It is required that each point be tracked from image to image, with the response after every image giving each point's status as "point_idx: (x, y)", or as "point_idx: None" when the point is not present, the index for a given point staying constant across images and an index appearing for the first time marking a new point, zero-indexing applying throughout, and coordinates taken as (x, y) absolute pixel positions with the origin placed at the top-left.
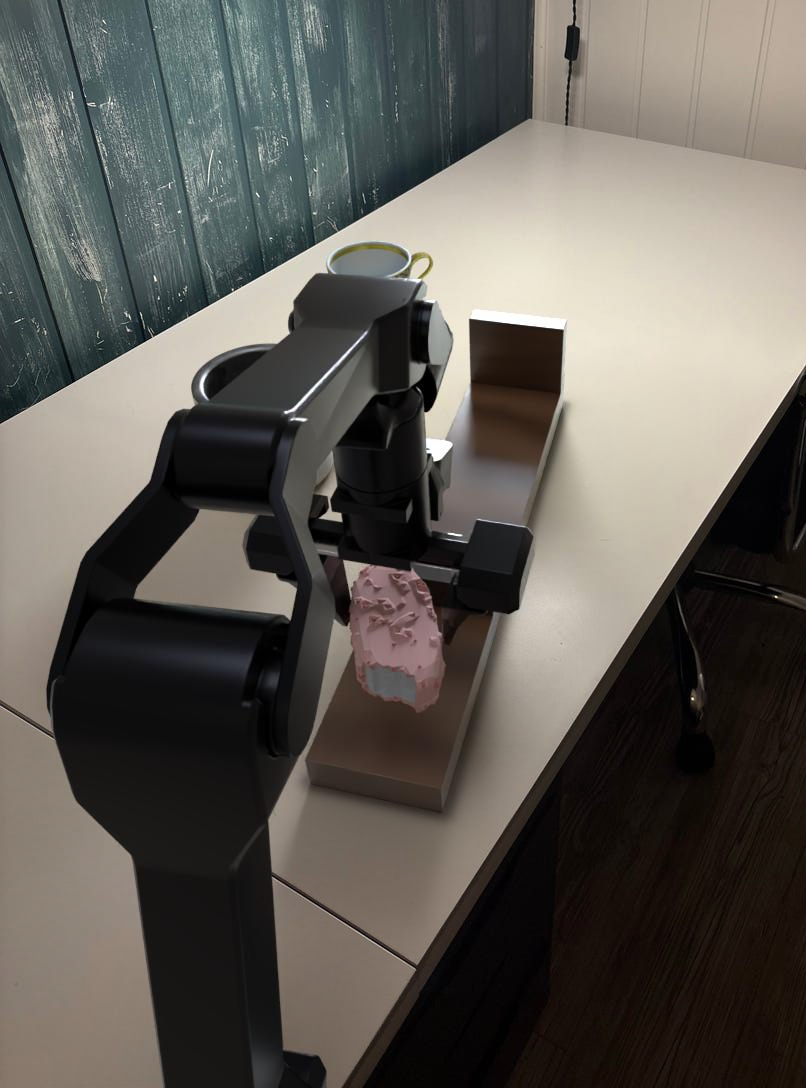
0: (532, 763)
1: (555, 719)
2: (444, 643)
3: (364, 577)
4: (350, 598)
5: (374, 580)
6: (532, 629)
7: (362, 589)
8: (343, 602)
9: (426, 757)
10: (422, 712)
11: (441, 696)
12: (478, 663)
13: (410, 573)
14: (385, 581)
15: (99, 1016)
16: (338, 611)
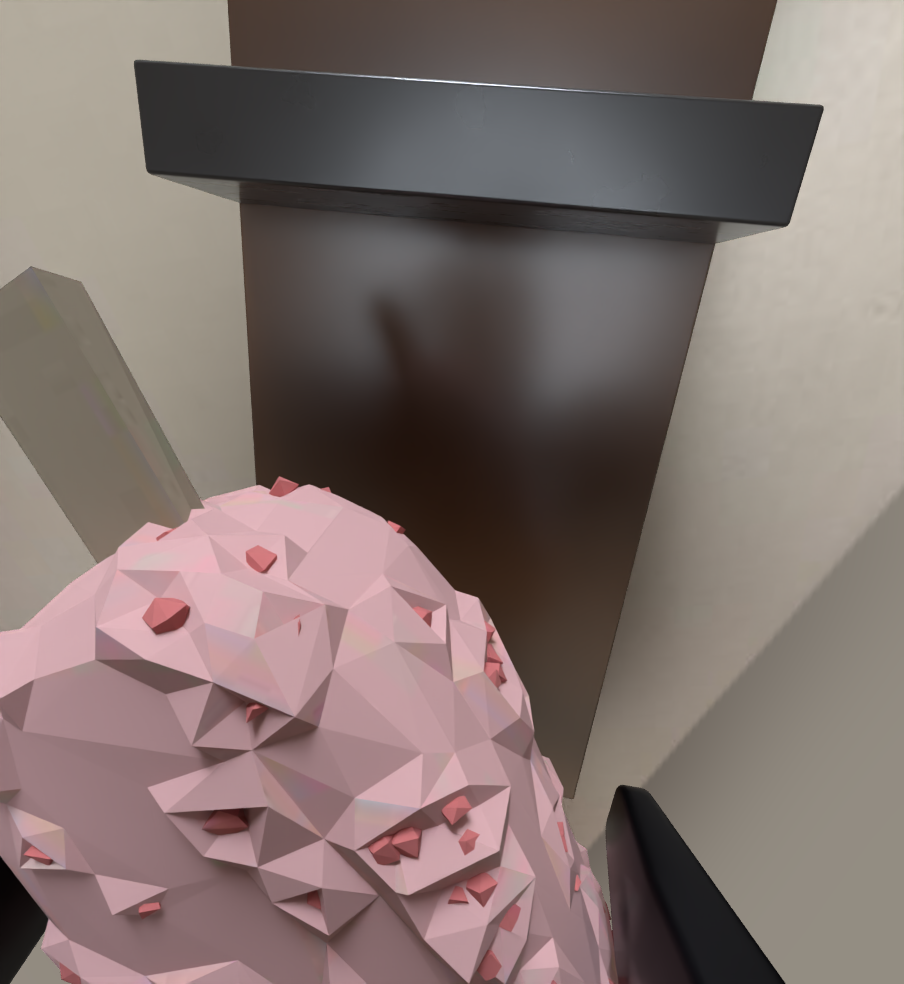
0: (760, 628)
1: (839, 516)
2: (606, 849)
3: (3, 808)
4: None
5: (82, 838)
6: (819, 178)
7: (49, 899)
8: (17, 894)
9: None
10: (502, 641)
11: (547, 594)
12: (655, 475)
13: (320, 758)
14: (162, 848)
15: None
16: (26, 951)
